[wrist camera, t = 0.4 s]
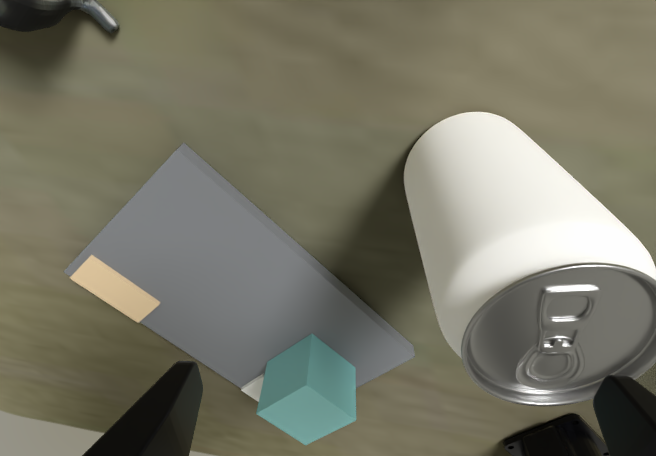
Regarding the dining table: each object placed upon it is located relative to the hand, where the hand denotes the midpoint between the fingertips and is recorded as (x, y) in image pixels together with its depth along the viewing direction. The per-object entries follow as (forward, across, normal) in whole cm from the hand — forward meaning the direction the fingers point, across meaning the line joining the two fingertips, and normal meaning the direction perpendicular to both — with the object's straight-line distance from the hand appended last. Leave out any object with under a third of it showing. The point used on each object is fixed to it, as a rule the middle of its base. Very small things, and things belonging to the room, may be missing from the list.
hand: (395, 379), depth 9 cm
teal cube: (+13, +3, +16) cm, 21 cm away
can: (+14, -5, +1) cm, 15 cm away
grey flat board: (+14, +7, +11) cm, 20 cm away
